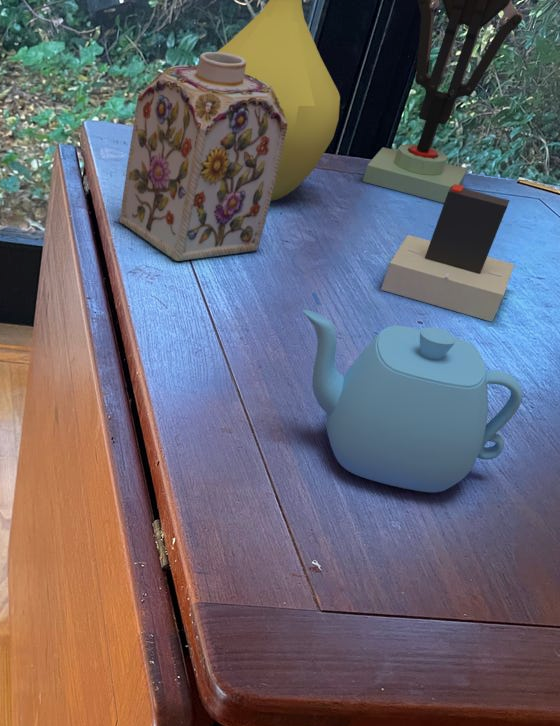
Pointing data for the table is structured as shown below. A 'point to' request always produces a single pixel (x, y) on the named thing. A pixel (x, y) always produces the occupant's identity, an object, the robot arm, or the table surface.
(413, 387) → the teapot
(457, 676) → the table surface
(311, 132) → the vase
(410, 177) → the block
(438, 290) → the beige flat block
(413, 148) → the power button
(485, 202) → the dark grey block
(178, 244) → the decorative jar
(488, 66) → the robot arm
